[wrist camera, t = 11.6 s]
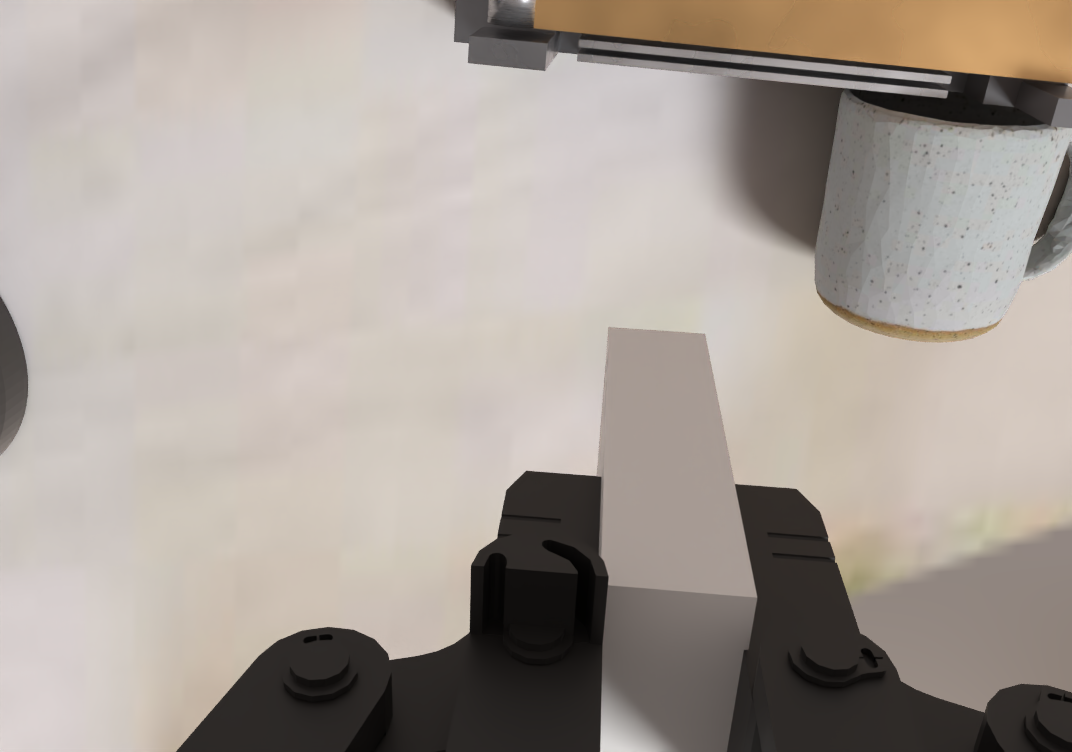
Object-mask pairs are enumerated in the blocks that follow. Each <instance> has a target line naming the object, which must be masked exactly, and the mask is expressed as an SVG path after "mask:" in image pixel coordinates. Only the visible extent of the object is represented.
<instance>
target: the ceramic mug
mask: <svg viewBox="0 0 1072 752" xmlns="http://www.w3.org/2000/svg"><path fill="white" fill-rule="evenodd" d="M1066 151H1067V154H1068V156H1069V160H1070V167H1069V173H1070V176H1069V178H1068V183H1067V186H1066V188H1065V191H1064V194H1063V197H1062V199H1061V201H1060V203H1059V206H1058V208H1057V210H1056V213H1055V216H1054V218H1053V220H1052V221H1051V223H1050V224H1049V226H1048V229H1047V232H1046V233H1045V235H1044V236H1043V237H1042V238H1041V239H1040V240H1039V241H1038V242H1037V243H1036V244H1034V245H1033V241H1034V238H1035V236H1036V233H1037V230H1038V228H1039V225H1040V222H1041V220H1042V217H1043V215H1044V212H1045V209H1046V207H1047V204H1048V201H1049V199H1050V196H1051V193H1052V191H1053V188H1054V185H1055V182H1056V179H1057V176H1058V173H1059V171H1060V168H1061V165H1062V162H1063V159H1064V156H1065V153H1066ZM1032 245H1033V246H1032ZM1071 253H1072V128H1063V127H1053V126H1049V125H1047V124H1045V123H1044V122H1042V121H1040V120H1038V119H1036V118H1034V117H1032V116H1031V115H1029V114H1027V113H1025V112H1023V111H1021V110H1019V109H1017V108H1016V107H1009V106H999V105H990V104H982V103H981V102H979V101H977V100H975V99H974V98H972V97H970V96H968V95H967V94H965V93H961V92H951V91H948V94H947V98H938V97H928V96H918V95H909V94H899V93H889V92H879V91H869V90H859V89H849V88H845V90H844V91H843V92H842V94H841V98H840V103H839V108H838V115H837V123H836V130H835V136H834V142H833V147H832V153H831V159H830V165H829V170H828V176H827V182H826V189H825V198H824V204H823V209H822V215H821V220H820V226H819V231H818V236H817V243H816V250H815V284H816V289H817V293H818V294H819V296H820V298H821V299H822V301H823V303H824V304H825V305H826V306H827V307H828V308H829V309H831V310H832V311H833V312H834V313H835V314H836V315H838V316H840V317H841V318H843V319H844V320H846V321H848V322H849V323H851V324H853V325H856V326H858V327H861V328H863V329H866V330H869V331H872V332H875V333H878V334H882V335H885V336H889V337H894V338H899V339H905V340H911V341H920V342H954V341H962V340H966V339H971V338H974V337H977V336H979V335H982V334H984V333H987V332H988V331H990V330H991V329H993V328H994V327H996V326H997V325H998V324H999V322H1000V321H1001V319H1002V318H1003V316H1004V315H1005V313H1006V312H1007V310H1008V308H1009V306H1010V304H1011V303H1012V301H1013V299H1014V297H1015V295H1016V293H1017V291H1018V289H1019V286H1020V284H1021V282H1022V281H1027V280H1032V279H1034V278H1036V277H1039V276H1041V275H1043V274H1045V273H1048V272H1050V271H1051V270H1053V269H1054V268H1056V267H1057V266H1058V265H1059V264H1060V263H1062V262H1063V261H1064V260H1065V259H1066V258H1067V257H1068V256H1069V255H1070V254H1071Z"/></svg>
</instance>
